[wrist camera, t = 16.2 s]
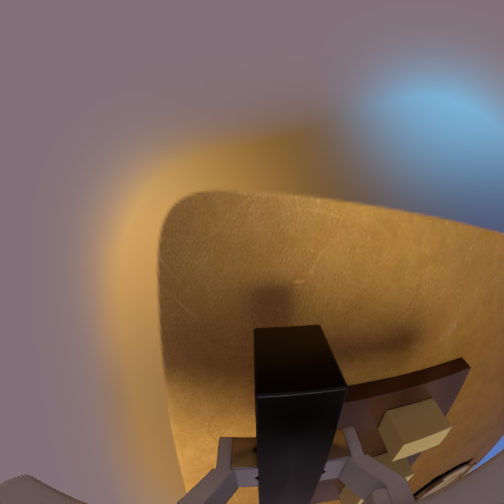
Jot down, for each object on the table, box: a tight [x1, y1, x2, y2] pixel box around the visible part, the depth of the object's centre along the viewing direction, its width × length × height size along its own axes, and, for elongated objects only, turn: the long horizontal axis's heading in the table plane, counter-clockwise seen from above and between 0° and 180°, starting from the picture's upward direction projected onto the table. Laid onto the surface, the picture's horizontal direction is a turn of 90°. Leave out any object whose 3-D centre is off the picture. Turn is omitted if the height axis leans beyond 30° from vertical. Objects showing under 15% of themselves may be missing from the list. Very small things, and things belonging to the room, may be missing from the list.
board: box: [310, 358, 471, 504], centre depth 18 cm, size 12×20×2 cm, turn 2°
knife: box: [253, 325, 348, 504], centre depth 10 cm, size 22×2×4 cm, turn 2°
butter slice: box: [378, 398, 452, 461], centre depth 13 cm, size 4×2×4 cm, turn 89°
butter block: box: [339, 453, 414, 504], centre depth 16 cm, size 4×9×4 cm, turn 2°
